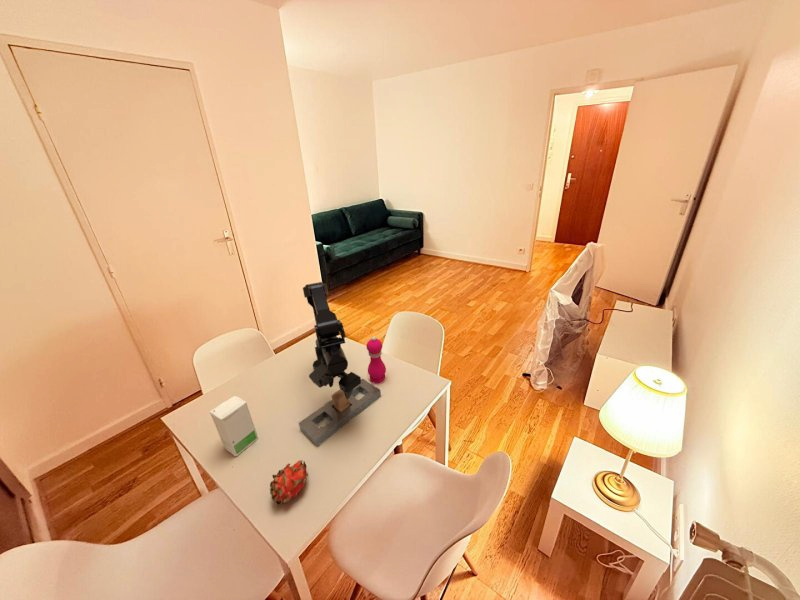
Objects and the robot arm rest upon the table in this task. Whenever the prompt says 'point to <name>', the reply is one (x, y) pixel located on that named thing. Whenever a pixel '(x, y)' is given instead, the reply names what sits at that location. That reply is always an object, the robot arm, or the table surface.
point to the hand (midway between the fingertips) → (339, 392)
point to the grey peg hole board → (334, 416)
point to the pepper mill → (375, 361)
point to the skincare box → (234, 425)
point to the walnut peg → (340, 401)
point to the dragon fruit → (288, 482)
